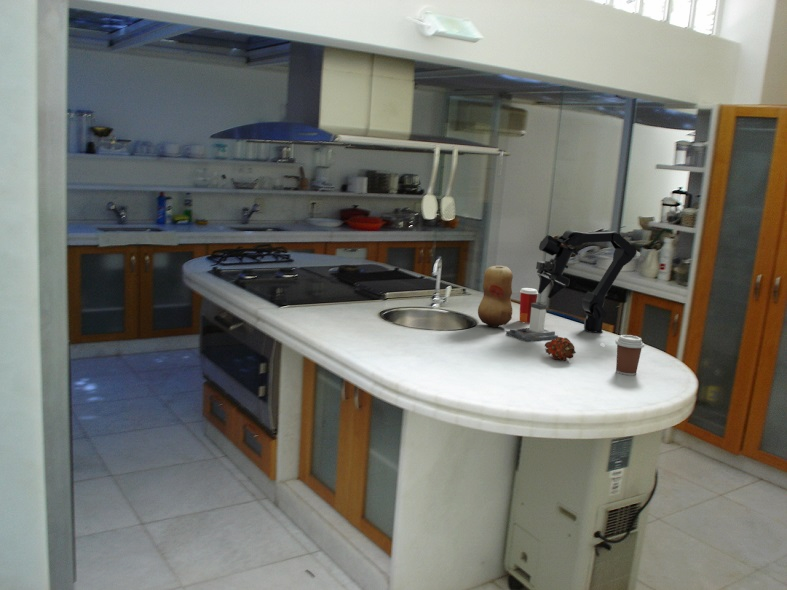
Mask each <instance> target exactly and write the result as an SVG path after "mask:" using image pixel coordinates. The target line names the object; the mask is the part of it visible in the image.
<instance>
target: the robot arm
mask: <svg viewBox="0 0 787 590" xmlns="http://www.w3.org/2000/svg"><path fill="white" fill-rule="evenodd" d="M607 242H608V243H609V242H610V244H611V246H612V248H614V252H613V256H612V261H611V263H610V264H609V266H608V267H607V269H606V271H605V273H604V274H603V276H602V278H601V279H600V281H599V282H598V284H597V285H596V287H595V289H593V291H587V292H586V294H585V295H584V297H583V298H581V300H582V302H581V307H582V309H583V310H584V315H586V317H585V318H584V323H583V328H584V330H585V331H586V332H589V333H590V332H591V333H603V332H604V331H603V324H604V319H606V318H607V315H608V313H607V312H606V311H605V309H604V308H603V307H604V305H605V299H606V295H607V293H608V292H609V290H610V289H611V287H612V285H613V284H614V282H615V281H616V279H617V277H618V276H619V274H620V273H621V271H622V270H623V268H624V267H625V266H626V265H627V264H628V263H630V262H631V261H632V260H633V259H634V258H635V256H636V255H637V252H638V251H637V248H636V246H635V245H633V244H631V243H630V242H629V241H628V240H627V239H625V238H624V237H623V236H622V235H621V233H620V232H617V231H613V230H610V231H597V232H595V231H592V232H591V231H590V232H582V231H576V230H570V229H568V230H565V231H564V232H563V234H562V235H560V236H559V237H557V238H555V237H553V235H550V234H546V236H545V237H544V238H543V239H542V240H541V241H540V243H539V246H538V250H540V251H541V252H543V253H545V254H547V255H549V256H554V257H553V258H551V259H549V260H545V261H542V260H541V261H539V260H537V261H536V265H535V270H537V271H536V273H537V276H538V278H539V285H538V290H537V291H538V294H542V293H543V292H544V291H545V289H547V287H548V286H549V285H550V284H551V286H550V289H549V293H548V295H547V298H549V299H551V298H552V297H554V296H555V295H556V294H557V293H559V292H560V291H561V290H563V289H564V288H566V287H569V285H570V284H571V279H570V278H568V277H566V276H565V275H564V272H565V270H566V269H568V268H569V266H568V263H569V261H570V259H571V257H572V255H578V253H579V252H578V251H577V247H578V246H582V245H585V244H587V243H589V244H590V243H607ZM570 246H571V247H570Z"/></svg>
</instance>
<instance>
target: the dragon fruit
mask: <svg viewBox="0 0 787 590" xmlns="http://www.w3.org/2000/svg"><path fill="white" fill-rule="evenodd" d="M544 347H545V348H544V349H545V350H544V351H545V354H547V355H551V356H552V359H553V360H558V359H559V360H560V361H563V362H564V361H566V360H567V359H572V358H573V359H574V354H576V350H575V346H574V343H572V342H571V341H570V339H569V338H568V337H562V336H558V338H557V339H550V341H546V342H545V344H544Z"/></svg>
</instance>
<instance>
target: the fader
mask: <svg viewBox="0 0 787 590" xmlns="http://www.w3.org/2000/svg"><path fill="white" fill-rule="evenodd" d="M547 306H548V305H547V304H543V303H540V302H536V303H531V316H530V323H529V327H528V328H529V329H527V330H526V332H527V333H537V332H546V331H544V329H545V321H546V313H547Z"/></svg>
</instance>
